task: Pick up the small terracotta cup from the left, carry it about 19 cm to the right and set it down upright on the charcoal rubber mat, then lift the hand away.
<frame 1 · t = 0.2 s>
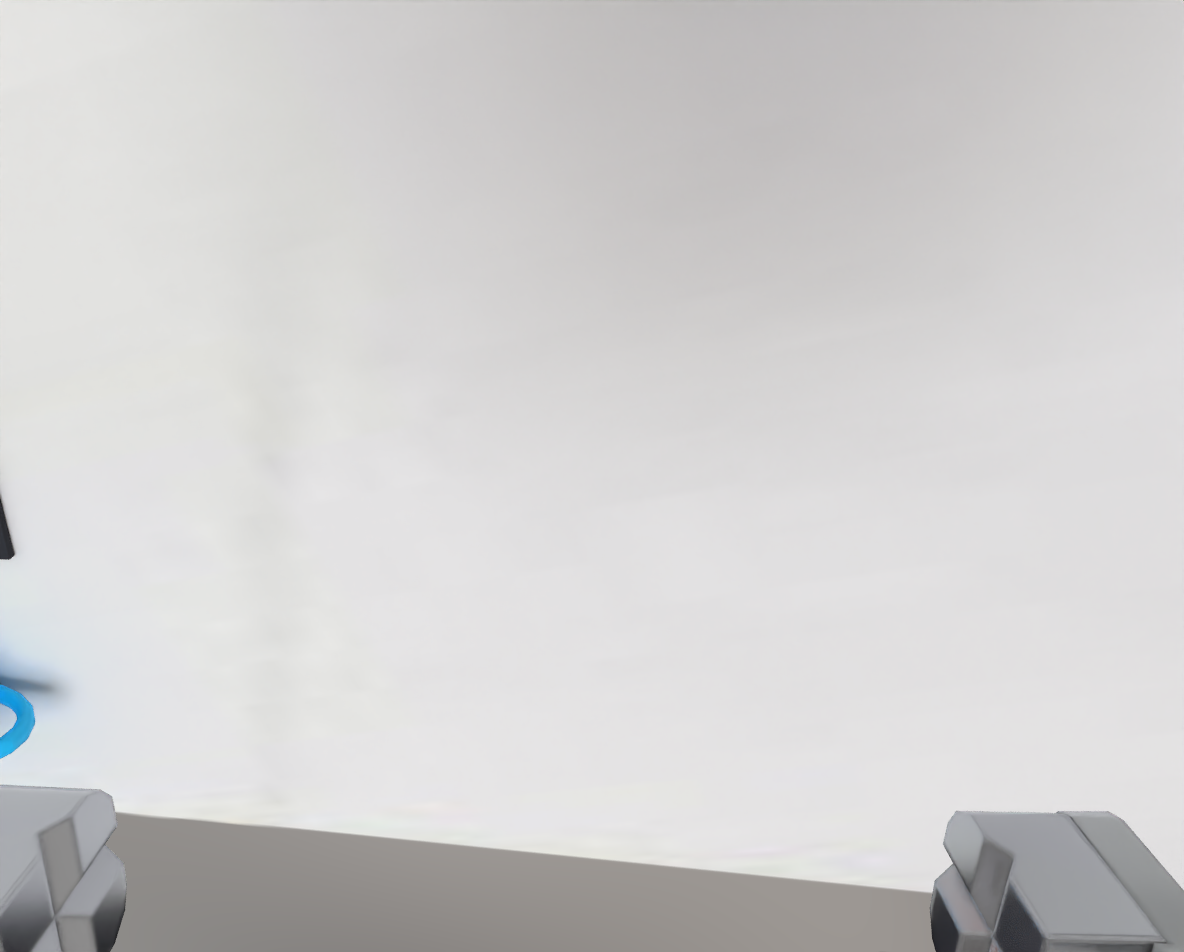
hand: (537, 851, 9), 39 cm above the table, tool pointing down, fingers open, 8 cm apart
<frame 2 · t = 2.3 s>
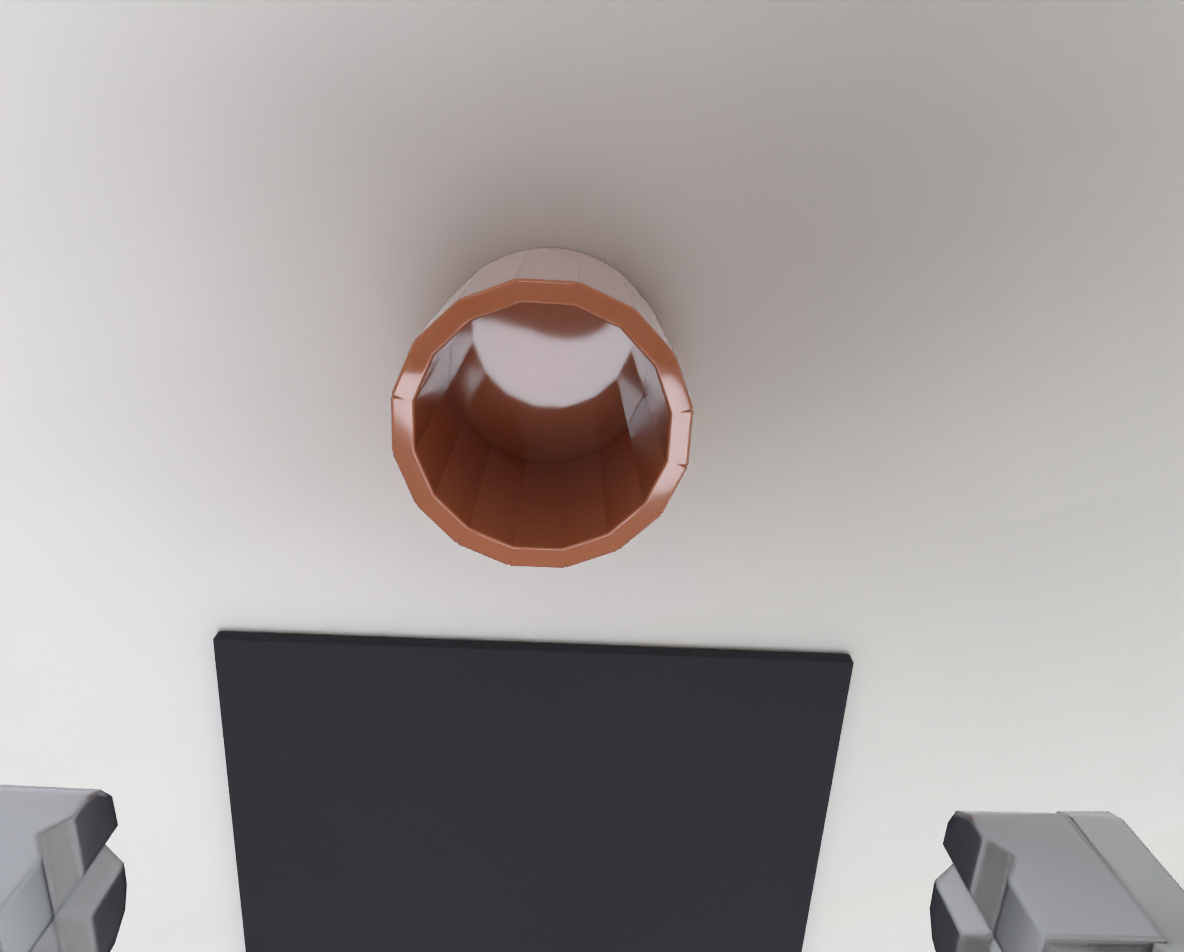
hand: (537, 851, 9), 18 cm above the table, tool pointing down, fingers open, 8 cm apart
cup: (549, 363, 25), on the table
mat: (528, 888, 31), on the table
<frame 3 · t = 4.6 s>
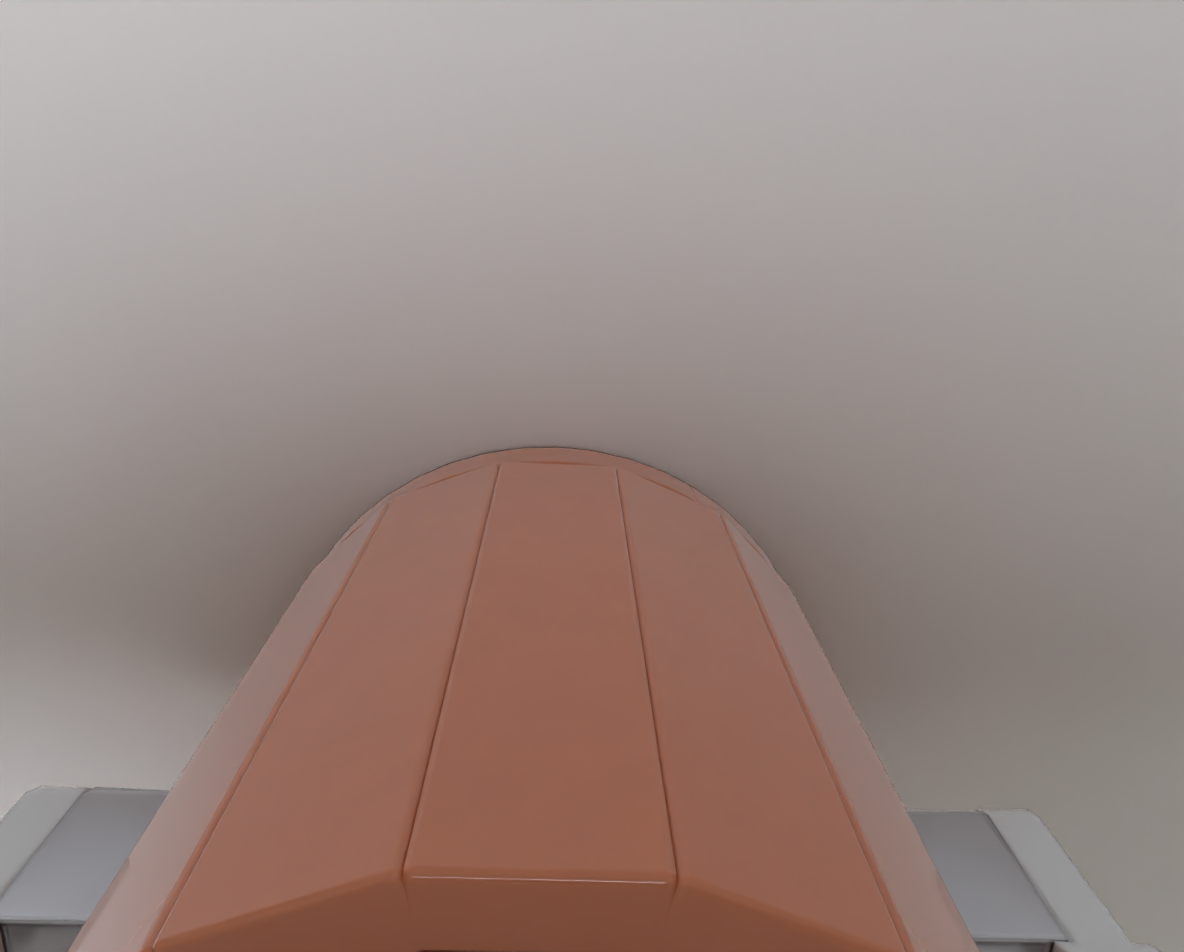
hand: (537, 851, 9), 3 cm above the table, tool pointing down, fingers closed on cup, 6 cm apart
cup: (549, 687, 11), on the table, touching gripper
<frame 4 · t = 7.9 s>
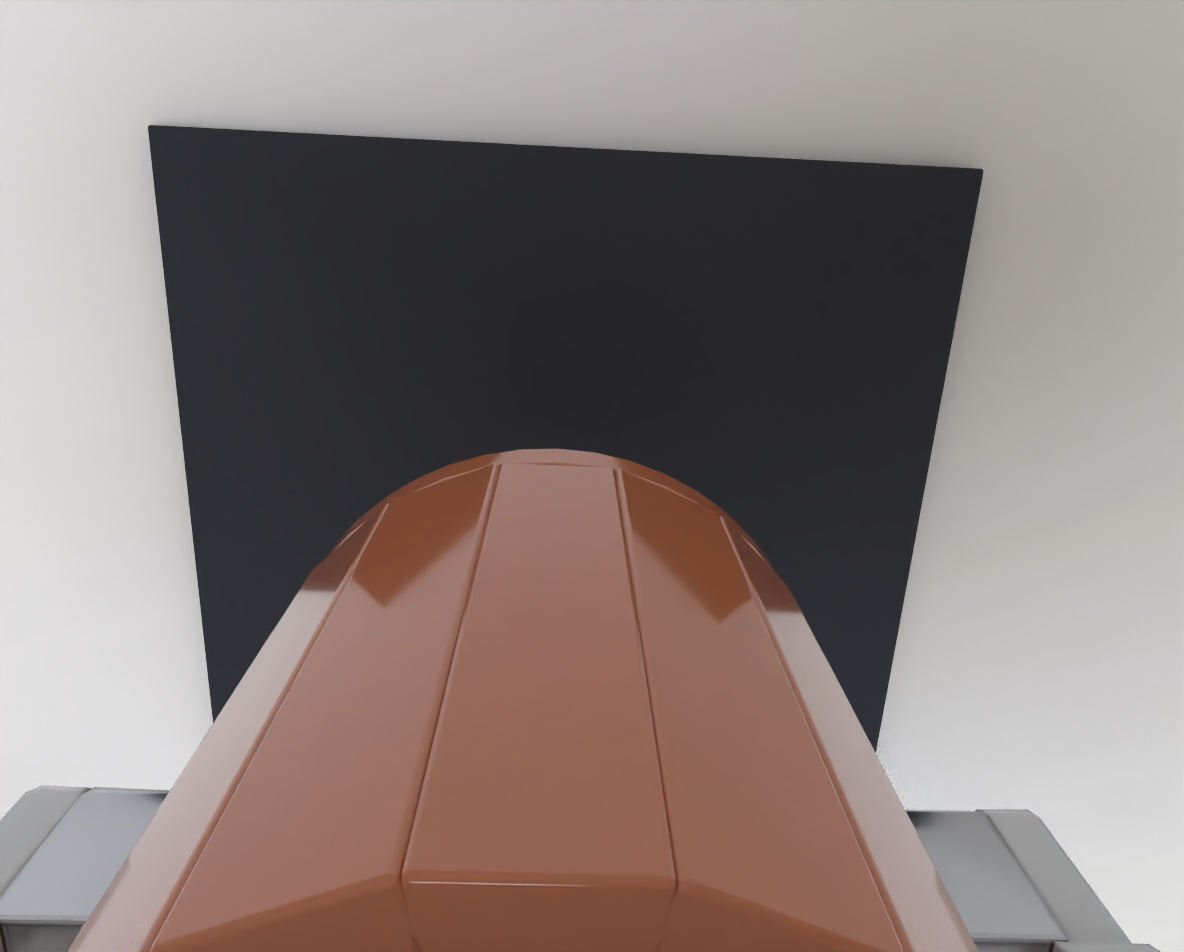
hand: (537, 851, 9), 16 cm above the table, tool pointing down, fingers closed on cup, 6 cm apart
cup: (548, 689, 11), point 13 cm above the table, touching gripper
mat: (557, 526, 25), on the table
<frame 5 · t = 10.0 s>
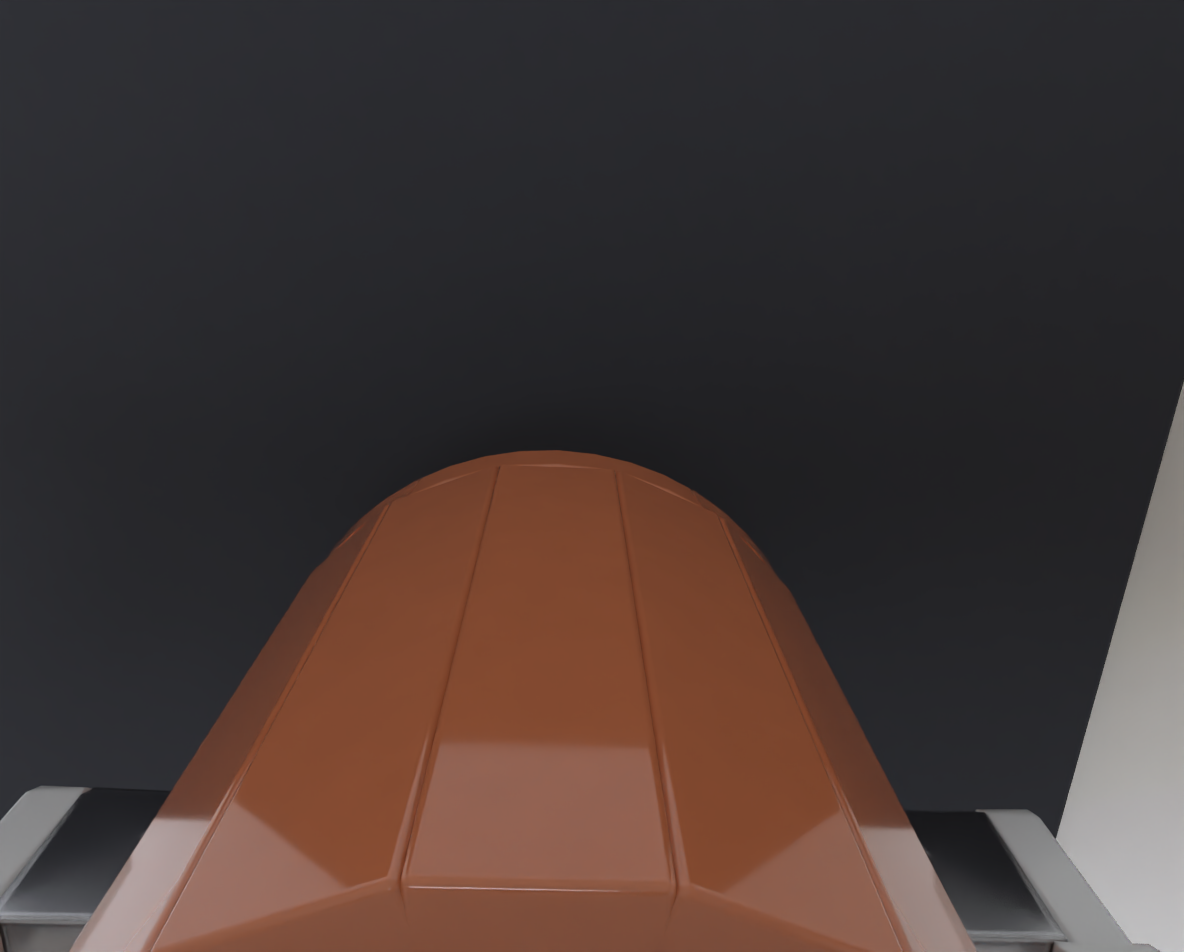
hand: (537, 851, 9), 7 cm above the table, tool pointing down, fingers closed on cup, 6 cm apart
cup: (548, 690, 11), point 4 cm above the table, touching gripper
mat: (548, 543, 15), on the table
when the fingers open (3 cm above the table, at t = 11.6 s): cup stays where it is, resting on mat.
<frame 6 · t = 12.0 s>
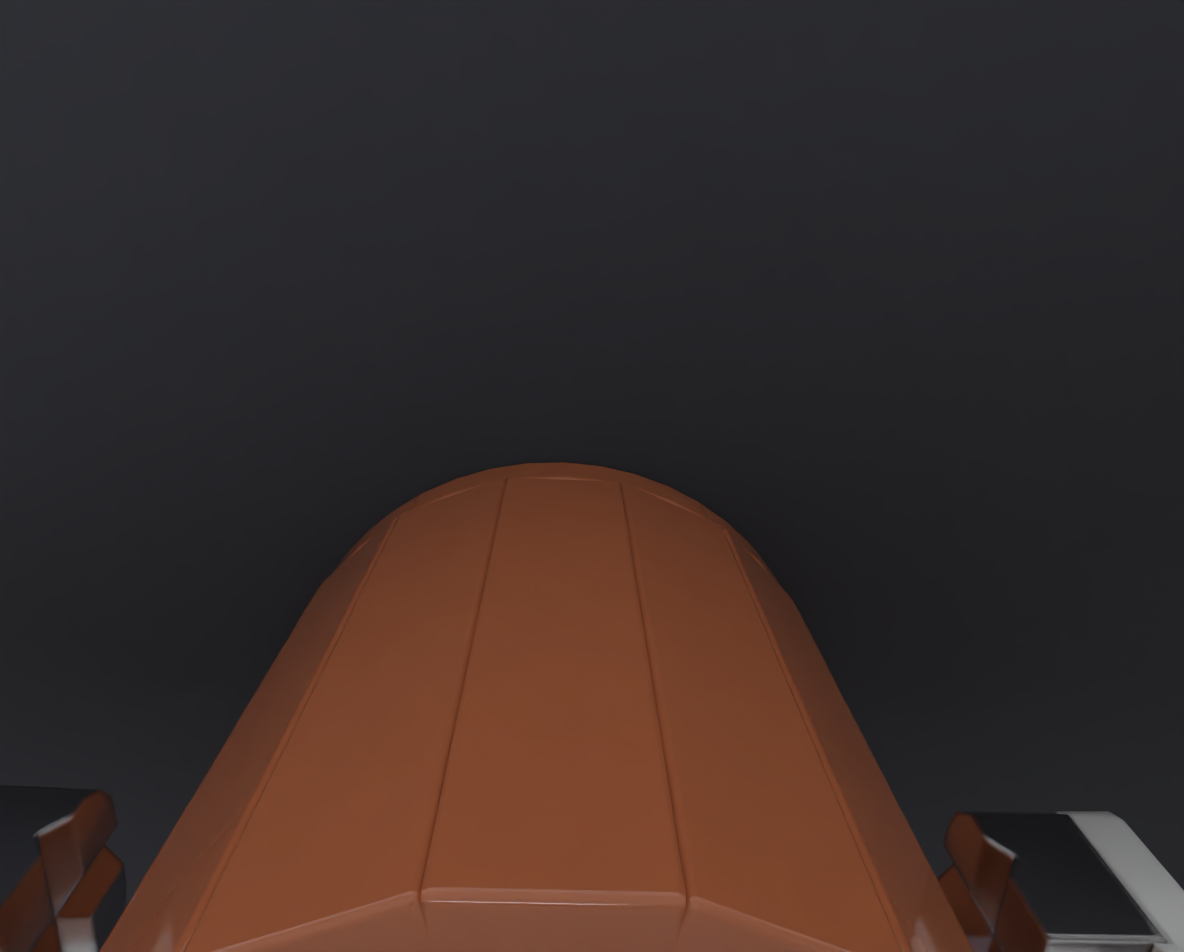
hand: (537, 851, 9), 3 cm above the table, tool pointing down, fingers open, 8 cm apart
cup: (554, 698, 11), resting on mat
mat: (547, 677, 12), on the table
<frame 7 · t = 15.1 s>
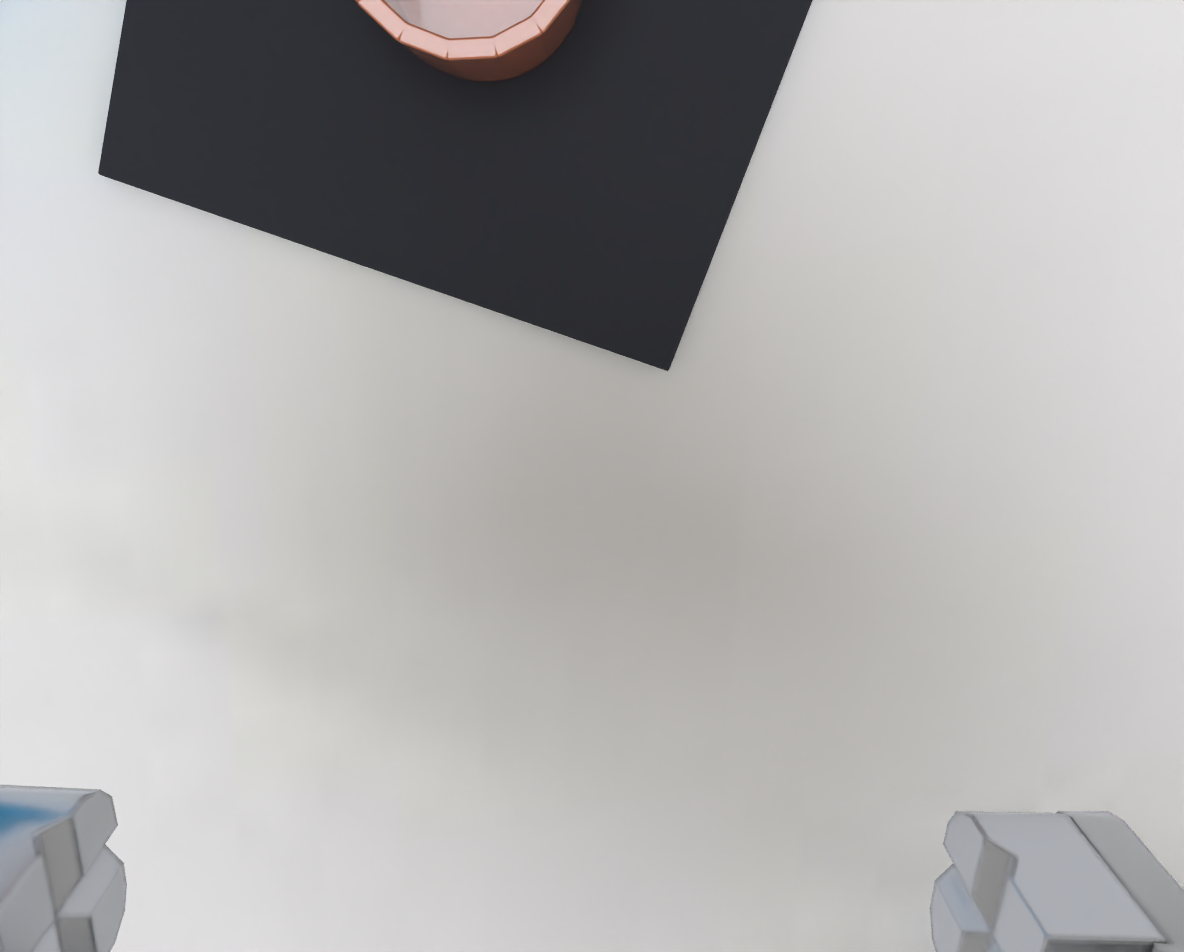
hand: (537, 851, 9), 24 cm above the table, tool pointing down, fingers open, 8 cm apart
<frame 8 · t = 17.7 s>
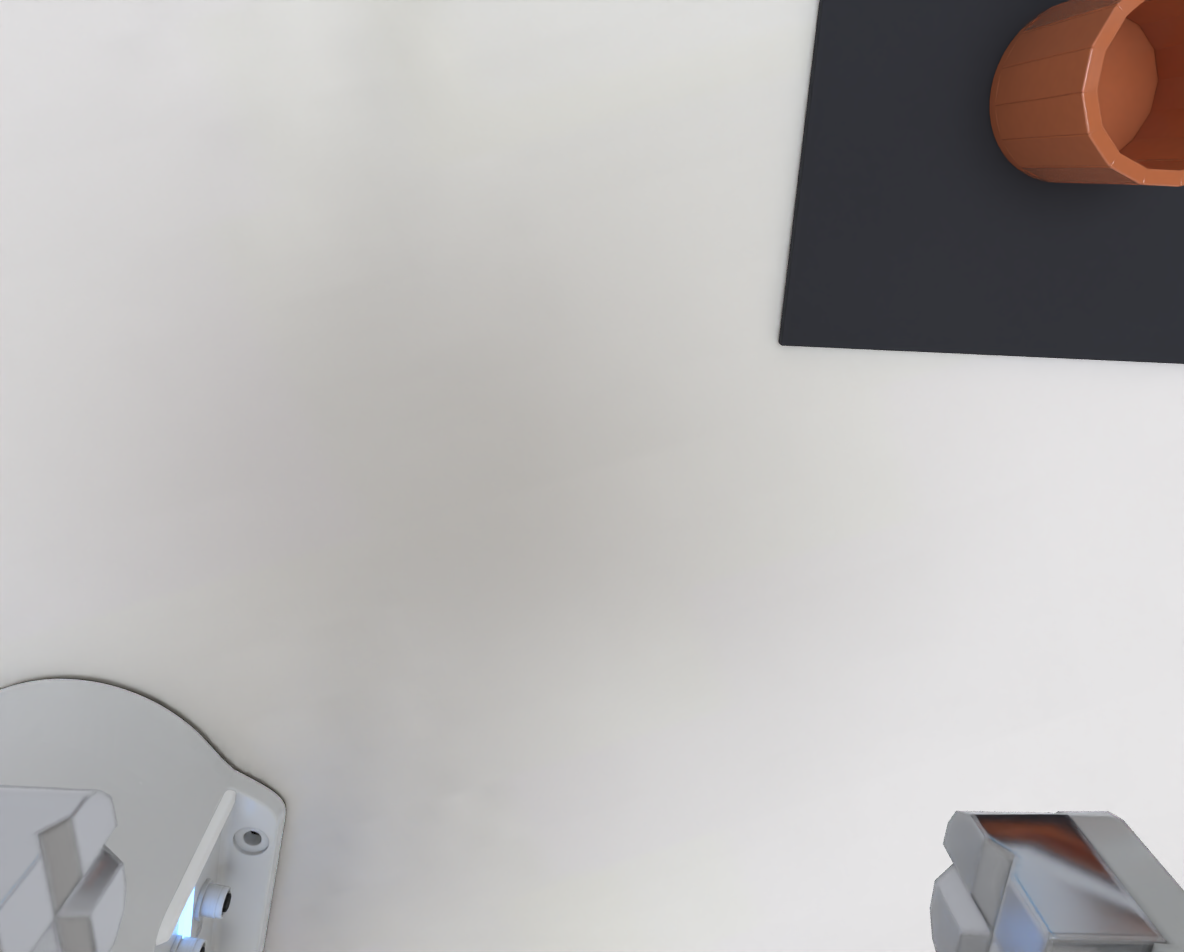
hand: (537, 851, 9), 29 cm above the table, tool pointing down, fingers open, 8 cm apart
cup: (1073, 93, 33), resting on mat
mat: (1069, 94, 34), on the table
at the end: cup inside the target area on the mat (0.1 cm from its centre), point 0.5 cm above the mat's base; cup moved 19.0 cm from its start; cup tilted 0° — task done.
